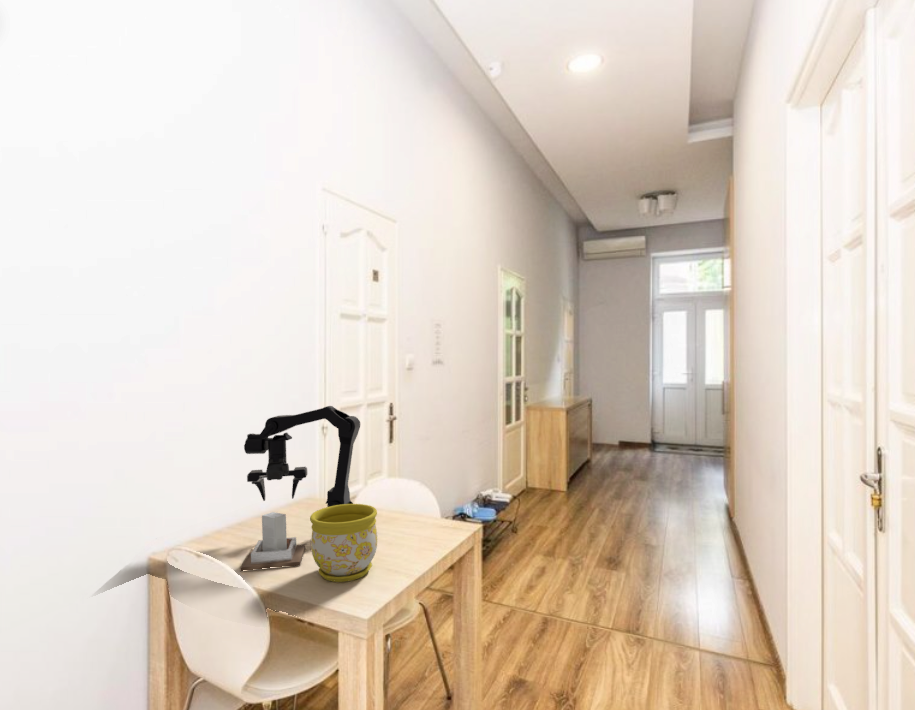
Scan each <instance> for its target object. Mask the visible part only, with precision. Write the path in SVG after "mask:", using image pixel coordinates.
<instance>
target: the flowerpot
mask: <svg viewBox="0 0 915 710" xmlns="http://www.w3.org/2000/svg"><path fill="white" fill-rule="evenodd" d="M377 515H378V511H377V508H376V507H374V506H372V505H370V504H369V505H368V504H364V503H362V504H361V503H353V504H342V505H335V506H330V507H327V506H326V507H323V508H320V509H318V510H316V511H314V512H312V513H311V515H310V516H309V517H310V518H309V520H310V523H311V524H312V525H311V539H310V542H311V543H310V546H311V549H310V550H311V555H312V558H313V560H314V562H315V565H316V566H317V567H318V575H320V576H322V578H323V579H324V580H326V581H329V582H334V583H344V582H346V583H347V582H352V581H355V580H359V579H360V578H363V577H364V576H366V575H367V574H368V573H369V571H370V570H371V569H372V566H373V564H372V560H373V559H374V557H375V556H376V553H377V549H378V531H377V530H378V529H377V519H376V517H377Z"/></svg>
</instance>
